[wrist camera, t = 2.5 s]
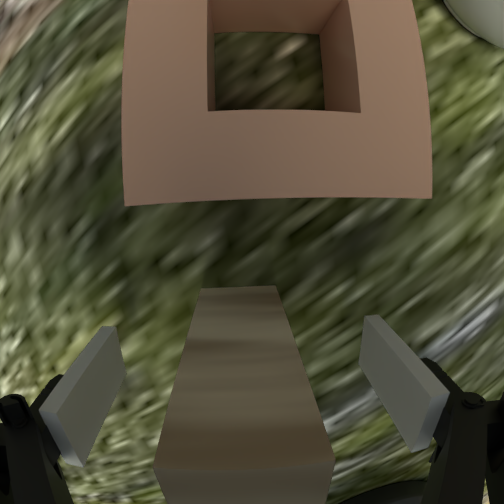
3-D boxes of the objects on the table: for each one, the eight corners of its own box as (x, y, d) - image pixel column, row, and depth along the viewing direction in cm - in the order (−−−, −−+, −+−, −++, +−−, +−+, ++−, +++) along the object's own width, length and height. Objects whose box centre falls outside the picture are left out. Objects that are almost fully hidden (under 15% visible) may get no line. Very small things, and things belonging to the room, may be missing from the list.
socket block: (382, 190, 17) (431, 198, 12) (156, 196, 16) (124, 206, 11) (365, -2, 14) (399, -43, 9) (158, -6, 13) (137, -53, 8)
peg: (275, 349, 18) (316, 532, 7) (207, 352, 18) (184, 538, 7) (275, 285, 18) (336, 460, 6) (200, 288, 17) (152, 467, 6)
